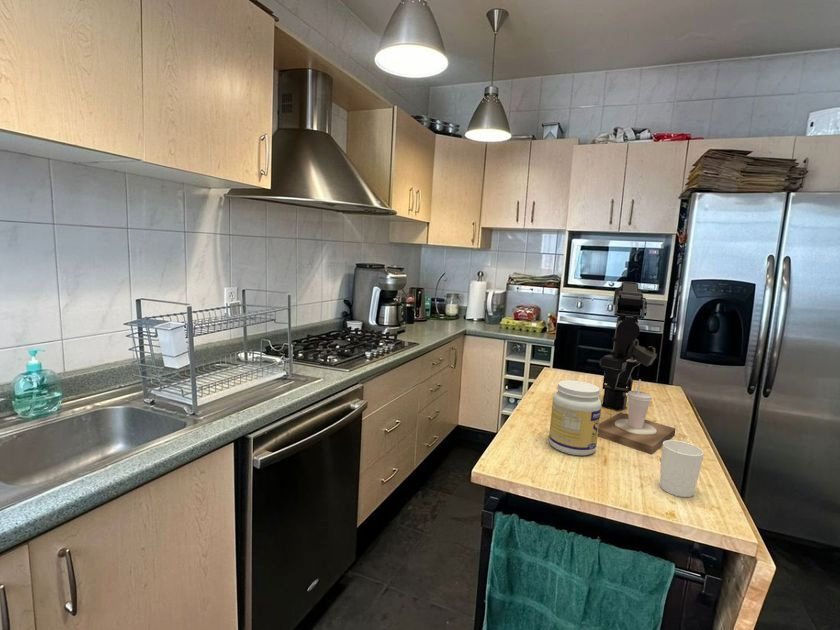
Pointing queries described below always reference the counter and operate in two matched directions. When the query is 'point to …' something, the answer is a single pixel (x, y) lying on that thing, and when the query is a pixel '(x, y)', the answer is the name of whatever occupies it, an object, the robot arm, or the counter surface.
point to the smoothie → (637, 407)
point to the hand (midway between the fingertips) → (618, 386)
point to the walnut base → (635, 433)
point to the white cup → (680, 467)
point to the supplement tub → (575, 417)
